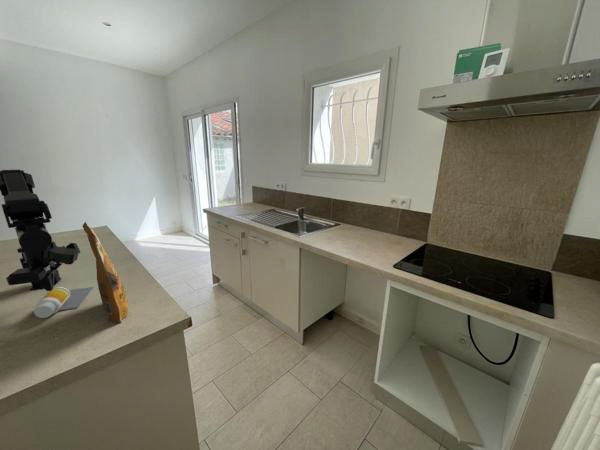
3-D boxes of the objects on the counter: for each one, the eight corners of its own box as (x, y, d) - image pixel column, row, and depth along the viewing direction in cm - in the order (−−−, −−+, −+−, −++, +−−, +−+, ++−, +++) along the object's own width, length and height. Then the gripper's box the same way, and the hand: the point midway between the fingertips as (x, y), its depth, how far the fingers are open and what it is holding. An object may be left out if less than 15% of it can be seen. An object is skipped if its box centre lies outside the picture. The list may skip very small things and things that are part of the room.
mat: (30, 316, 72) (30, 315, 72) (53, 293, 84) (53, 292, 84) (77, 308, 76) (77, 307, 76) (93, 287, 88) (92, 286, 88)
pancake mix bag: (101, 332, 66) (76, 235, 59) (101, 299, 81) (82, 218, 73) (130, 322, 70) (111, 230, 62) (126, 293, 85) (110, 215, 77)
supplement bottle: (49, 286, 76) (30, 303, 68) (71, 286, 79) (55, 303, 70) (48, 301, 77) (30, 320, 69) (70, 301, 80) (55, 319, 71)
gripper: (54, 250, 63) (69, 301, 68) (84, 229, 80) (94, 272, 84) (-5, 255, 59) (15, 310, 64) (39, 233, 76) (53, 277, 80)
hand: (50, 290), depth 73 cm, fingers closed
